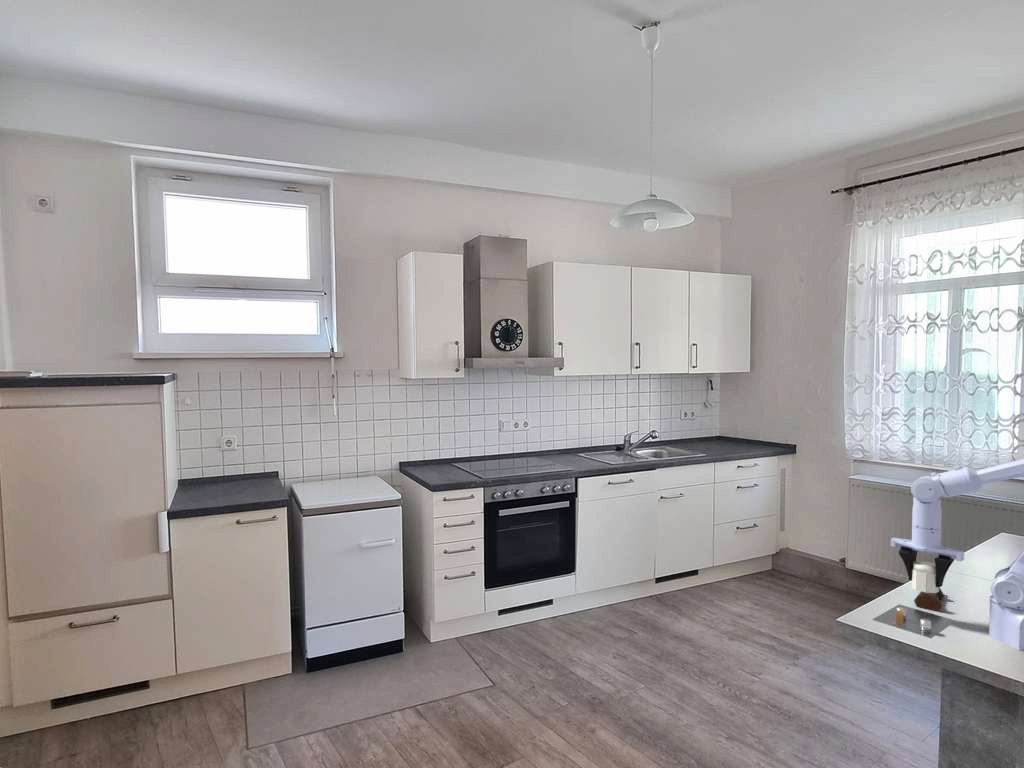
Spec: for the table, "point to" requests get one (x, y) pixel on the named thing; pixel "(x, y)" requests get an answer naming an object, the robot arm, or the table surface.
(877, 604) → the table surface
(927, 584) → the knob
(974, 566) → the table surface
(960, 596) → the table surface
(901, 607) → the plate
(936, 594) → the bolt
